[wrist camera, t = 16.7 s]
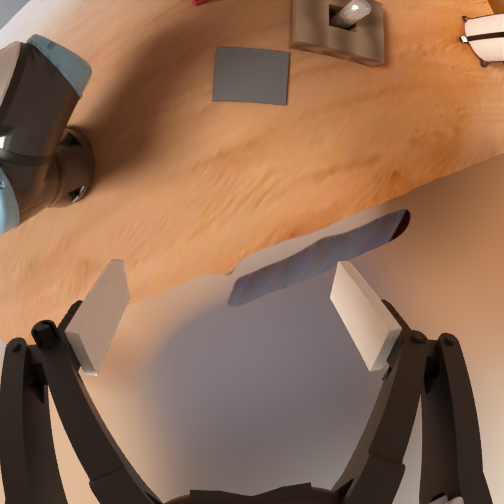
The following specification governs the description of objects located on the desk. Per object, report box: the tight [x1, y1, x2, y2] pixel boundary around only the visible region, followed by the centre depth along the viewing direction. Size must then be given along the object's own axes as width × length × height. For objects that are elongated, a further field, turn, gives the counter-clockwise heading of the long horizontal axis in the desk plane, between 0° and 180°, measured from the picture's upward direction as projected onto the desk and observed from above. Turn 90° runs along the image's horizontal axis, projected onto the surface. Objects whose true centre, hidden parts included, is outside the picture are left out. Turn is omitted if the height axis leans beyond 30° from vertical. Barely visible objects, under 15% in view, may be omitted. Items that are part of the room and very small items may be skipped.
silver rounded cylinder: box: [329, 0, 371, 30], centre depth 29 cm, size 3×3×11 cm
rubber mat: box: [212, 47, 289, 105], centre depth 37 cm, size 12×10×1 cm
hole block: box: [289, 0, 384, 67], centre depth 31 cm, size 16×14×4 cm
